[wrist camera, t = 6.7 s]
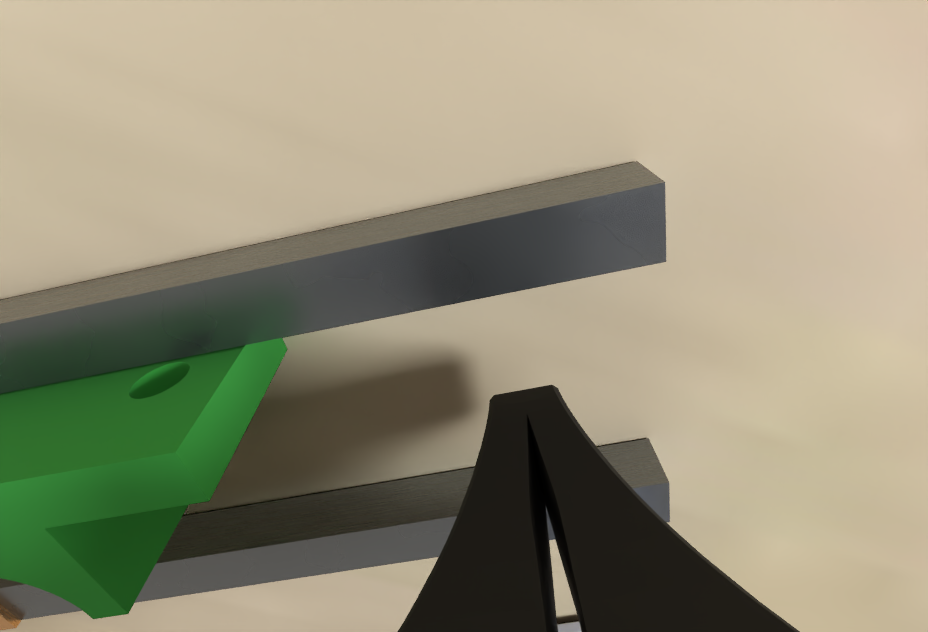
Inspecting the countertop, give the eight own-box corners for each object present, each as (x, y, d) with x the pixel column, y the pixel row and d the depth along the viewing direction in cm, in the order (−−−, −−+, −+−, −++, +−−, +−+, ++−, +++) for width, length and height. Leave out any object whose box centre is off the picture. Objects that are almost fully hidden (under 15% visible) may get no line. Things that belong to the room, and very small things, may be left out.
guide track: (650, 477, 14) (672, 529, 13) (-35, 586, 16) (-83, 642, 15) (637, 158, 10) (669, 182, 8) (-306, 364, 12) (-414, 412, 10)
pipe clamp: (-44, 490, 14) (-236, 668, 10) (-149, 389, 13) (-432, 559, 9) (328, 428, 13) (270, 600, 9) (272, 307, 11) (171, 457, 7)
